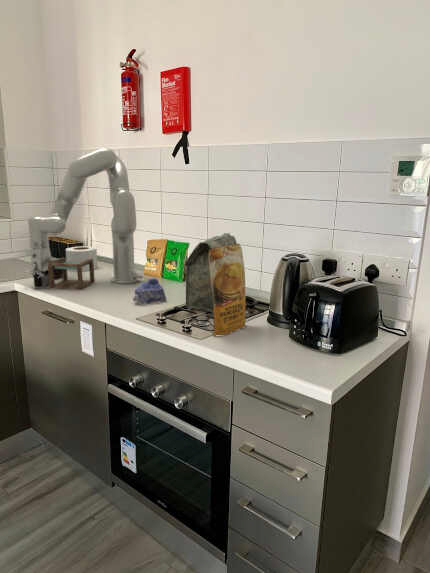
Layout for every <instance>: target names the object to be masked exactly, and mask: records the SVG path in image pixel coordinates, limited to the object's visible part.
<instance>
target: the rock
mask: <svg viewBox="0 0 430 573" xmlns="http://www.w3.org/2000/svg"><path fill="white" fill-rule="evenodd" d="M58 259H60V258H58ZM58 259H53V260H52V262H53V261H55V260H58ZM60 263H62V262H60ZM53 272H54V279H56V278H57V279H58V278H60V277H62V276H63V270H62V269H55V266H53ZM43 273H44V272H41V274H43Z"/></svg>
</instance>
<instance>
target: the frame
mask: <svg viewBox="0 0 430 573" xmlns="http://www.w3.org/2000/svg"><path fill="white" fill-rule="evenodd" d="M54 260H55V261H53V260H52V261H53V262H51V263H49V266H48V272H49V285H50V286H49V289H54V290H73V291H74V290H75V291H83V290H85V288H87V287H89V286H90V285H92V284H94V283H95V270H94V262H93V259H88V260H86V261H84V262H82V263H80V264H62V263H64V262H66V261H67V259H66V257H61V258H60V259H59V258H58V260H57V259H54ZM60 262H62V263H60ZM67 262H72V261H67ZM86 264H89V270H90V271H89V280H87V279H84V278H83V271H82V266H84V265H86ZM53 266H61V267H77V271H76V273H77V279H68V278H69V277H68V270H67V269H62V270H63V275H62V280H60V281H58V282H56V283H55V278H54V272H53Z"/></svg>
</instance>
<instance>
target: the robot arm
mask: <svg viewBox="0 0 430 573" xmlns="http://www.w3.org/2000/svg"><path fill="white" fill-rule="evenodd" d="M102 172H106V174H107V178H108V184H109V185H108V186H109V200H110V204H111V206H112V211H113V217H112V219H111V221H110V222H111V223H110V224H111V226H110V229H111V238H112V257H113V258H112V260H113V276H112V277H111V278H110V282H111V283H113V284H119V285H120V284H123V285H125V284H133V283H136V282H138V281H139V279H143V278H144V274H143V273H138V272H137V270H135V247H134V246H135V245H134V243H135V242H134V233H135V232H136V230H137V214H136V213H137V211H136V203H135V202H136V201H135V197H134V195H133V194H132V192H130V183H129V177H128V176H129V175H128V172H127V167H126V165H125V163H124V162H123V161H122V159H121V158H120V157H119V156H118V155H117V154H116V153H115V152H114V150H113V149H111V148H108V147H103V148H99V149H97V150H95V151H93V152H90V153H88V154H85V155H82V156H79V157H76V158H74V159H72V160H71V162H70V163H69V165H68V168H67V170H66V172H65V176H64V177H63V180H62V183H61V185H60V188H59V190H58V192H57V196H56V199H55V202H54V205H53V207H52V209H51V212H50V214H49V216H47V217H46V216H44V215H32V216H29V217H28V219H27V220H28V221H27V222H28V223H27V224H28V235H29V244H30V245H29V246H30V251H31V252H30V264H31V268H30V274H31V276H32V278H33V285H34V287H35V288H39V287H42V281H41V278H40V276H41V272H44V273H43V274H49V272H48V266H49V263H51V262H52V261H53V260H52V254H51V249H50V241H49V240H50V239H49V234H56V235H57V234H62V233H64V231H65V230H66V228H67V222H68V219H69V217H70V215H71V211H72V210H73V208H74V206H75V204H76V203H77V202H78V200H79V199H80V197H81V194H82V191H83V189H84V186H85V183H86V181H87V179H88V178H90V177H92V176H94V175H97V174H99V173H102Z"/></svg>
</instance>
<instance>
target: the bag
mask: <svg viewBox="0 0 430 573" xmlns="http://www.w3.org/2000/svg"><path fill="white" fill-rule="evenodd" d="M236 239H237V238H236V237H235V236H234V235H231V234H230V232H227V233H226V232H224V233H223V234H222V235H216V236H215V235H214V236H212V237H211V238H207V239H206V240H205V241H200V242H198V244H197V245H196V246H195V247H194V249H193V250H192V251H191V253H190V255H189V256H188V258H187V259H186V261H185V263H184V266H186V271H185V308H186V309H202V310H204V311H208V312H211V313H213V314H214V312H213V294H212V290H211V286H210V271H209V264H208V253H209V251H210V249H212V248H216V247H220V246H227V245H233V244H238V243H237V240H236Z"/></svg>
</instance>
